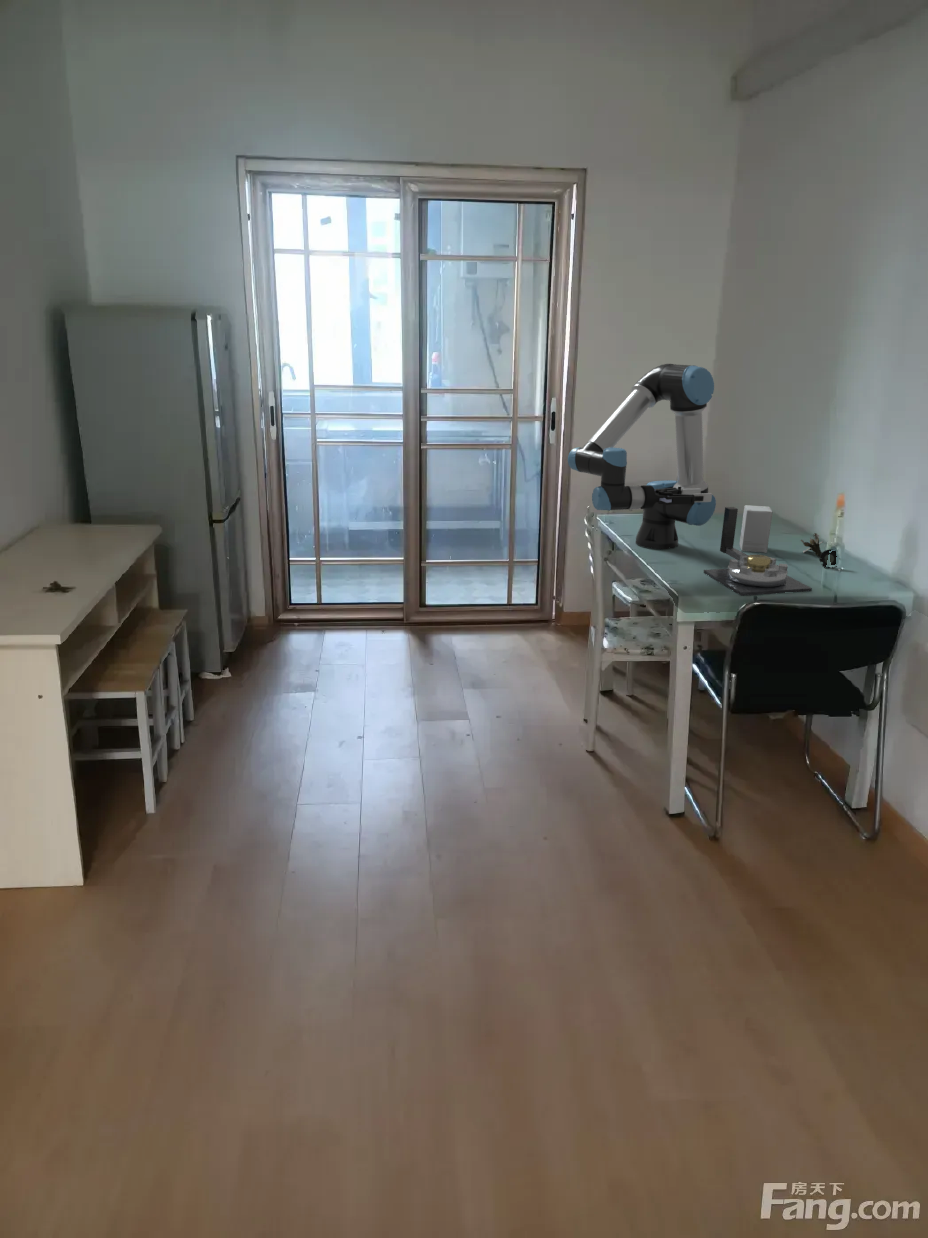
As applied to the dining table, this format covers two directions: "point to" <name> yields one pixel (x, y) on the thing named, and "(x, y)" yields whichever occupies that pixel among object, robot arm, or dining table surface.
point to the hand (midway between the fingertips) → (705, 495)
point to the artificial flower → (816, 548)
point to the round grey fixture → (738, 567)
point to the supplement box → (755, 528)
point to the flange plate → (742, 589)
